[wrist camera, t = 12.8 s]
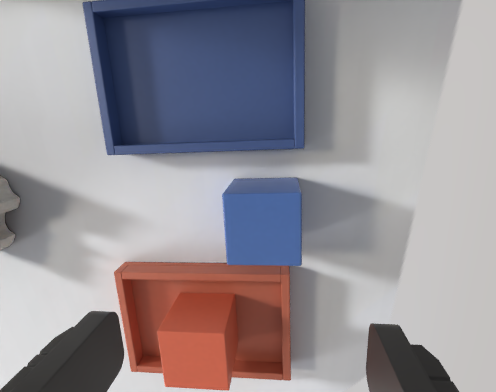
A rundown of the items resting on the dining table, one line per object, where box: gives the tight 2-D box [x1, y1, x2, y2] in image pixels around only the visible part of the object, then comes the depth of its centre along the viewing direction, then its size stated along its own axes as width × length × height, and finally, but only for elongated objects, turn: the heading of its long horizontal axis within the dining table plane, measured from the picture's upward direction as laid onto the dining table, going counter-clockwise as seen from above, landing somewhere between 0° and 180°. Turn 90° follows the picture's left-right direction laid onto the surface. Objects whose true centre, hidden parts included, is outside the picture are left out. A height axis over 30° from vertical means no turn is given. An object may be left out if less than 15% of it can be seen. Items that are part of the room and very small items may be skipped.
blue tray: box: [83, 0, 305, 155], centre depth 19 cm, size 13×9×2 cm
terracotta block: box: [157, 293, 238, 390], centre depth 22 cm, size 4×4×4 cm
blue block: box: [222, 178, 302, 266], centre depth 19 cm, size 4×4×4 cm
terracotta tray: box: [114, 262, 291, 380], centre depth 23 cm, size 13×9×2 cm
